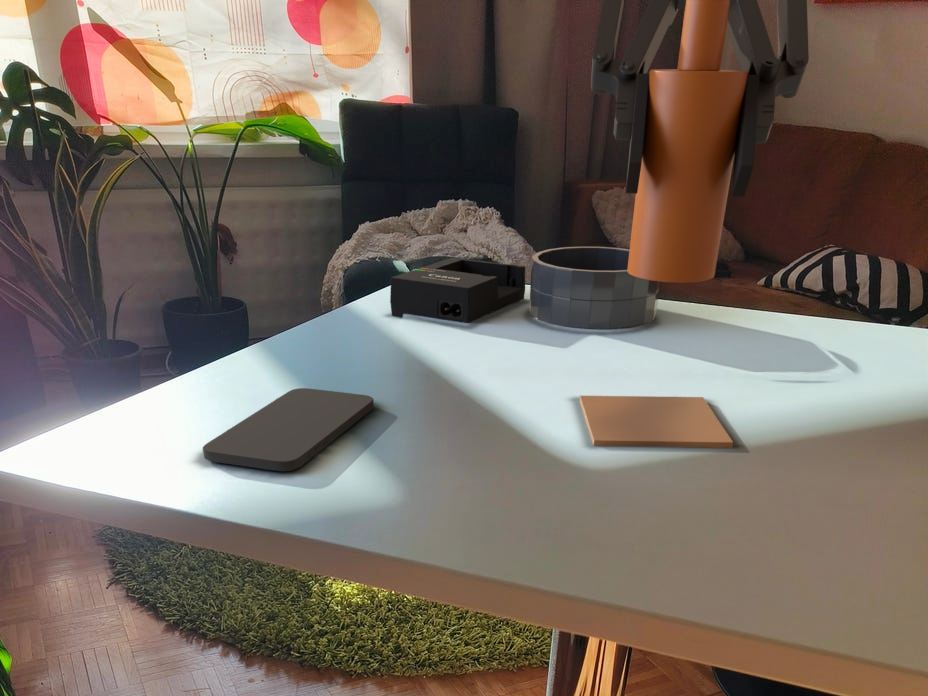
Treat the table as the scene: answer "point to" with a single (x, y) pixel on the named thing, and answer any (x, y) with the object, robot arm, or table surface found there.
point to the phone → (289, 429)
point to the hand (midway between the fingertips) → (687, 179)
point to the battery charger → (457, 289)
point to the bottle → (687, 154)
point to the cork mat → (653, 422)
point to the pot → (590, 289)
